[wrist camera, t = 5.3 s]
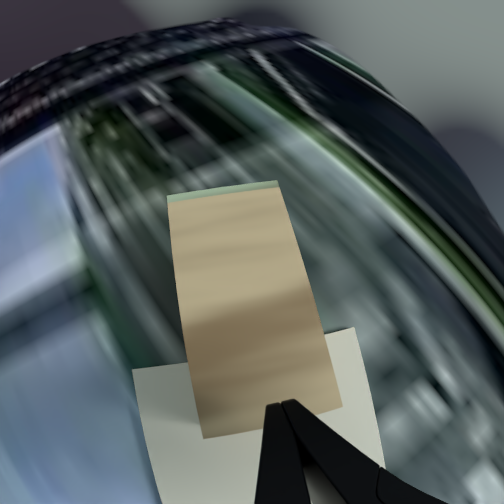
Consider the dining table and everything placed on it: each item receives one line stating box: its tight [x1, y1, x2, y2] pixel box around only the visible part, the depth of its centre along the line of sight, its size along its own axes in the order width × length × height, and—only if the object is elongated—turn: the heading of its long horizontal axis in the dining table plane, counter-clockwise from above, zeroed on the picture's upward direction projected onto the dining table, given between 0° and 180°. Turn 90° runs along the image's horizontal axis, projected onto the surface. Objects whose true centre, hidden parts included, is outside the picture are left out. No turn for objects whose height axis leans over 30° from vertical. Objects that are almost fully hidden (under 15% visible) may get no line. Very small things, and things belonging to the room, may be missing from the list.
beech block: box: [167, 180, 343, 439], centre depth 14 cm, size 5×5×10 cm
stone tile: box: [132, 327, 386, 504], centre depth 14 cm, size 12×12×1 cm
